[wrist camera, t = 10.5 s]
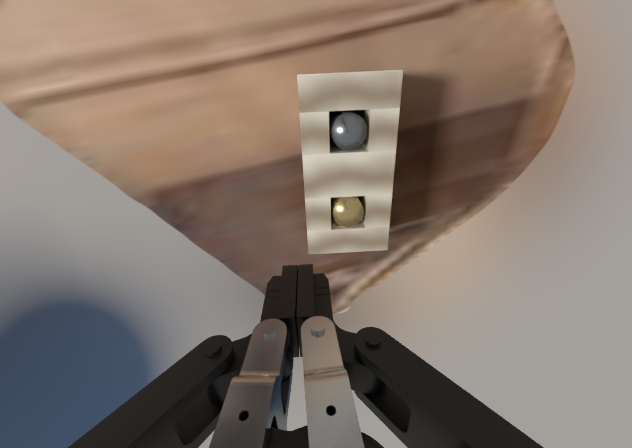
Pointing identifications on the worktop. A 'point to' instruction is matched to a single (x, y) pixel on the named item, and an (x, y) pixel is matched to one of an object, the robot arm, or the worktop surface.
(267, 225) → the worktop surface
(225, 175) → the worktop surface
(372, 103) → the ash socket block
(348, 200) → the brass peg
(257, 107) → the worktop surface
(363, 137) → the steel peg
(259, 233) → the worktop surface
